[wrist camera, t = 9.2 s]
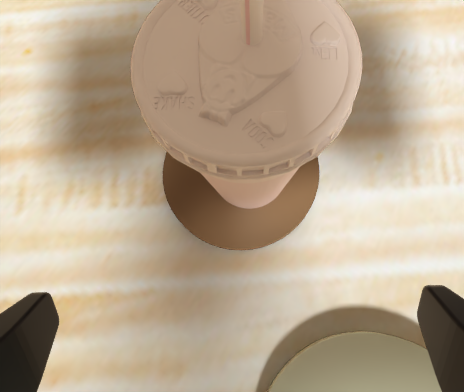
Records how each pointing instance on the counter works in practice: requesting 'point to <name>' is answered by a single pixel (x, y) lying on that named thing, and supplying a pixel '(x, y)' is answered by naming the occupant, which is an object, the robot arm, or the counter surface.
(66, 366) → the counter surface
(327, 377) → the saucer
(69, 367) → the counter surface
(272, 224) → the disc
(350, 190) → the counter surface
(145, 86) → the smoothie
